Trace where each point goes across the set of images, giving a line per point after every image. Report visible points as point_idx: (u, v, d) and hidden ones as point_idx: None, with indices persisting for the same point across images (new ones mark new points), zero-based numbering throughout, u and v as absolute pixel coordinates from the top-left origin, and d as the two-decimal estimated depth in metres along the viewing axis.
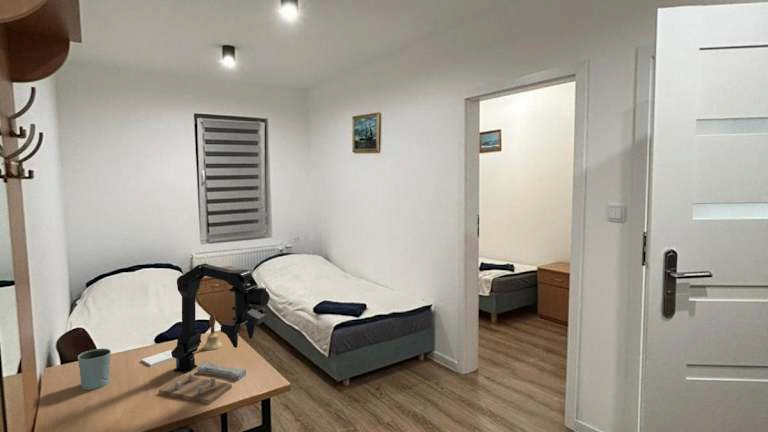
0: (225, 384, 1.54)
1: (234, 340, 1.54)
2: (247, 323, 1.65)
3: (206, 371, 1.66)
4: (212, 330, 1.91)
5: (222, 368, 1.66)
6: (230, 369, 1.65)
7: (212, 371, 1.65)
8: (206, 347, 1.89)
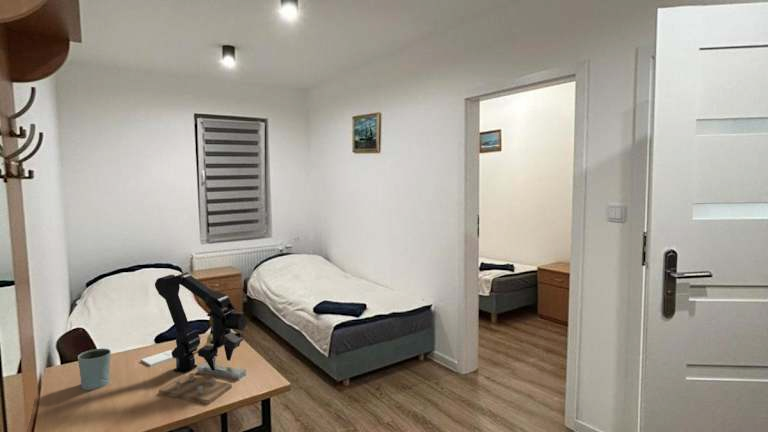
0: (225, 384, 1.54)
1: (211, 363, 1.60)
2: (225, 345, 1.70)
3: (206, 371, 1.66)
4: None
5: (222, 368, 1.66)
6: (230, 369, 1.65)
7: (212, 371, 1.65)
8: None
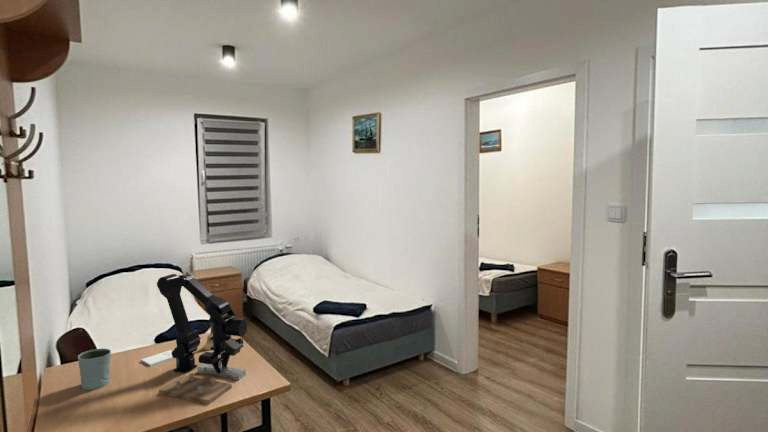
0: (225, 384, 1.54)
1: (217, 366, 1.63)
2: (221, 354, 1.68)
3: (206, 371, 1.66)
4: (212, 330, 1.91)
5: (222, 367, 1.66)
6: (230, 369, 1.65)
7: (212, 371, 1.65)
8: (206, 347, 1.89)
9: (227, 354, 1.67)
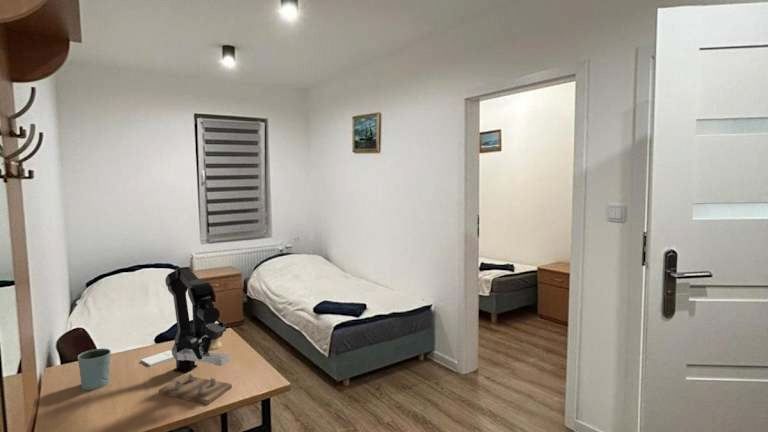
0: (225, 384, 1.54)
1: (198, 352, 1.52)
2: (202, 339, 1.57)
3: (186, 357, 1.55)
4: None
5: (203, 353, 1.55)
6: (212, 354, 1.54)
7: (192, 357, 1.54)
8: None
9: (208, 339, 1.56)
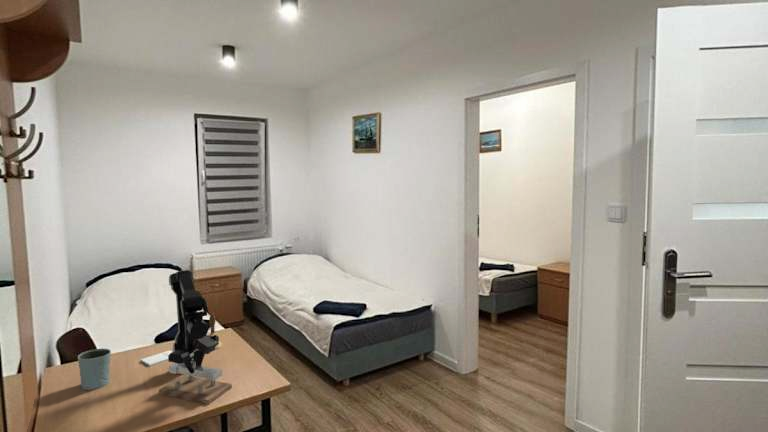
0: (225, 384, 1.54)
1: (190, 366, 1.49)
2: (195, 353, 1.54)
3: (178, 370, 1.52)
4: (212, 330, 1.91)
5: (195, 367, 1.52)
6: (204, 368, 1.51)
7: (185, 371, 1.52)
8: None
9: (201, 352, 1.53)
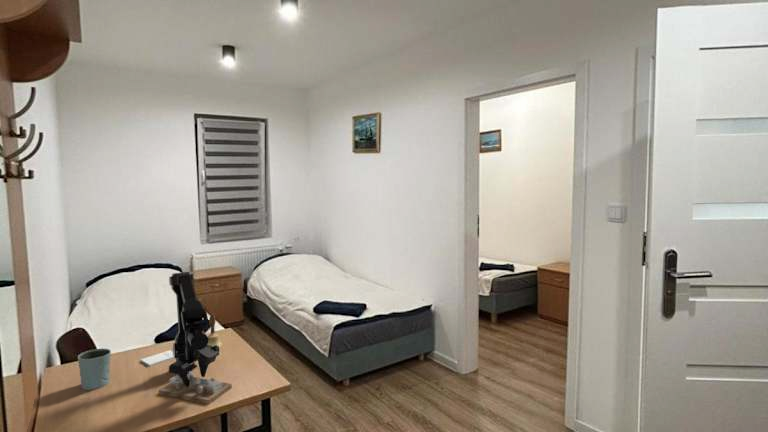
0: (225, 384, 1.54)
1: (185, 379, 1.47)
2: (199, 360, 1.56)
3: None
4: (212, 330, 1.91)
5: (196, 380, 1.52)
6: (205, 381, 1.51)
7: None
8: None
9: None
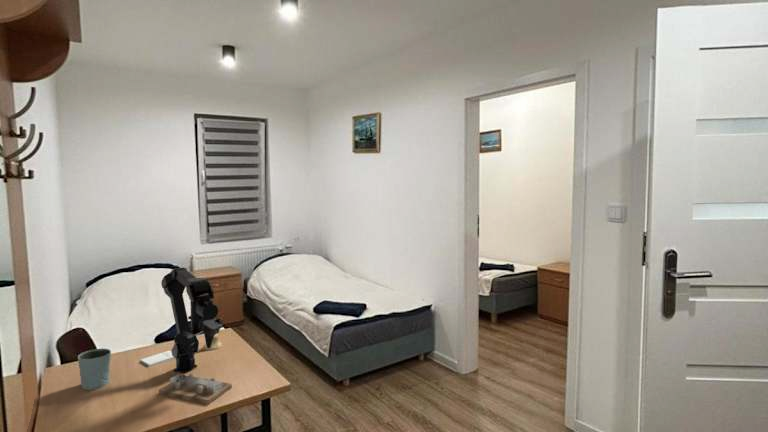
0: (225, 384, 1.54)
1: (189, 350, 1.53)
2: (205, 332, 1.63)
3: None
4: None
5: (196, 380, 1.52)
6: (205, 381, 1.51)
7: (185, 384, 1.52)
8: (206, 347, 1.89)
9: None
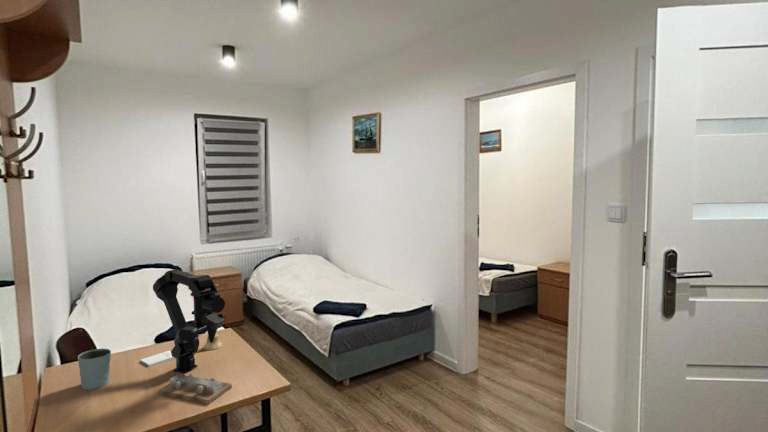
0: (225, 384, 1.54)
1: (193, 344, 1.57)
2: (208, 327, 1.67)
3: None
4: None
5: (196, 380, 1.52)
6: (205, 381, 1.51)
7: (185, 384, 1.52)
8: (206, 347, 1.89)
9: None
